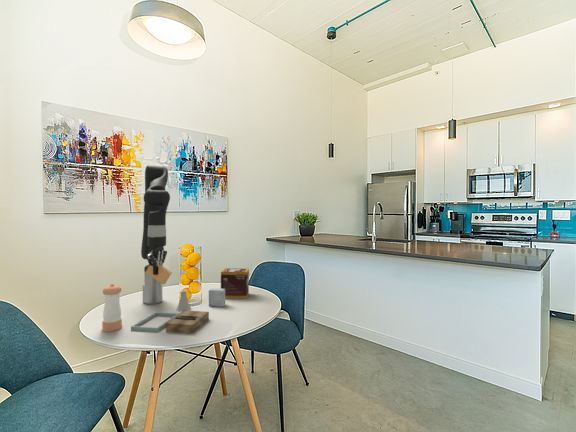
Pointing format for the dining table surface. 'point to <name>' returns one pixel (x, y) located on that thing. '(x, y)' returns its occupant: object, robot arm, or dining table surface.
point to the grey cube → (217, 297)
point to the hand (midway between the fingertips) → (156, 274)
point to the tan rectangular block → (159, 273)
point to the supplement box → (235, 283)
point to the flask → (183, 302)
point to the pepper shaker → (112, 309)
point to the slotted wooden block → (187, 321)
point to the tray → (150, 329)
